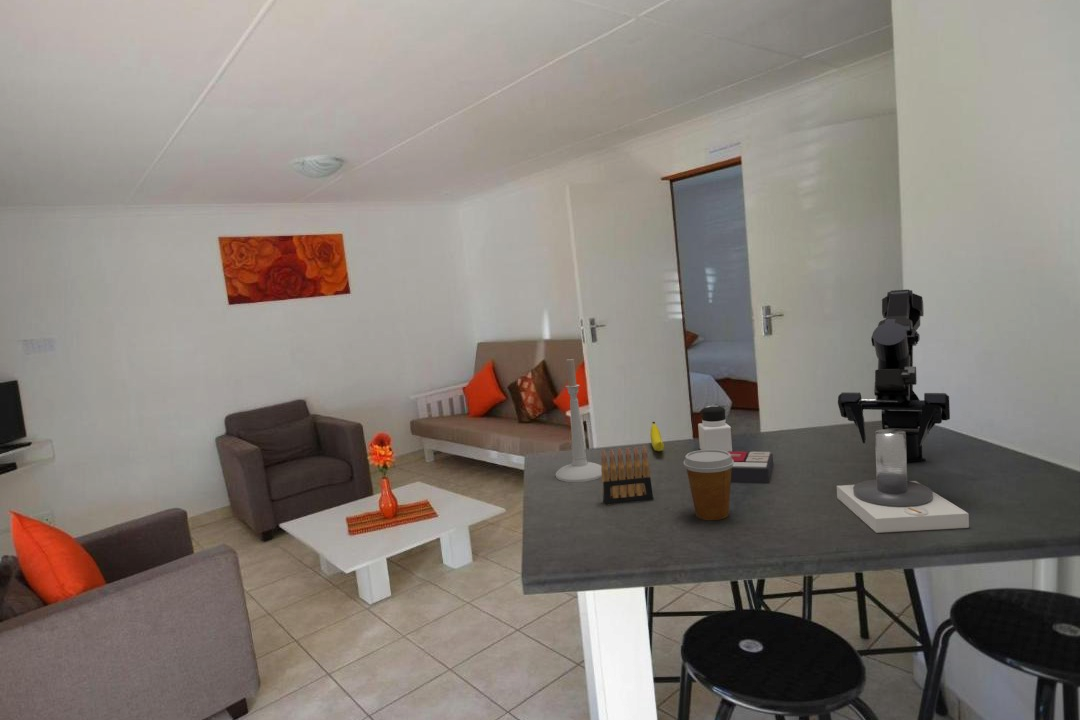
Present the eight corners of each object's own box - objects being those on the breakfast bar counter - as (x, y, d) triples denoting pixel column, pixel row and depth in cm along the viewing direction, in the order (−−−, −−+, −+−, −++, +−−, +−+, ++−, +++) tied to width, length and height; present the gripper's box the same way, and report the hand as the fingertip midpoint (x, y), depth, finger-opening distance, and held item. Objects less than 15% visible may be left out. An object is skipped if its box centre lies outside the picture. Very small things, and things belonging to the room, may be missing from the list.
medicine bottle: (733, 453, 164) (730, 408, 163) (705, 455, 164) (702, 410, 163) (725, 446, 171) (722, 403, 170) (699, 448, 171) (696, 405, 170)
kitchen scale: (915, 493, 124) (915, 475, 123) (968, 527, 106) (968, 507, 106) (837, 497, 125) (836, 481, 125) (876, 532, 108) (875, 513, 107)
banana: (656, 460, 164) (654, 437, 163) (650, 443, 183) (648, 421, 182) (667, 460, 164) (665, 436, 163) (660, 442, 182) (658, 421, 182)
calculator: (772, 450, 151) (768, 465, 138) (773, 467, 152) (769, 484, 138) (725, 449, 156) (716, 464, 142) (726, 466, 156) (718, 482, 142)
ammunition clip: (604, 504, 135) (599, 450, 133) (603, 502, 137) (598, 448, 135) (653, 499, 135) (649, 445, 134) (651, 497, 137) (647, 443, 135)
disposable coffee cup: (683, 508, 128) (678, 451, 127) (729, 504, 128) (726, 447, 126) (693, 525, 119) (688, 464, 117) (743, 521, 118) (739, 459, 117)
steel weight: (888, 483, 121) (886, 427, 119) (913, 490, 116) (911, 432, 115) (871, 489, 119) (868, 432, 117) (895, 495, 114) (893, 437, 113)
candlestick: (594, 464, 167) (584, 352, 163) (614, 476, 154) (603, 356, 151) (549, 472, 163) (537, 358, 160) (566, 485, 151) (554, 362, 147)
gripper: (836, 353, 125) (830, 419, 118) (947, 350, 115) (948, 423, 107) (844, 384, 133) (838, 448, 125) (949, 384, 122) (950, 454, 115)
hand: (890, 443), depth 118 cm, fingers open, 9 cm apart
